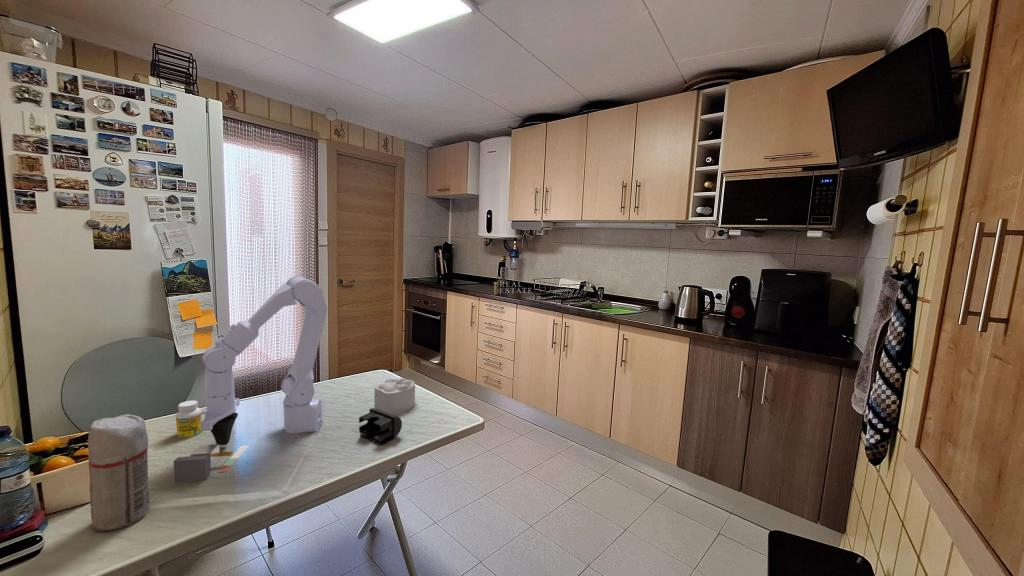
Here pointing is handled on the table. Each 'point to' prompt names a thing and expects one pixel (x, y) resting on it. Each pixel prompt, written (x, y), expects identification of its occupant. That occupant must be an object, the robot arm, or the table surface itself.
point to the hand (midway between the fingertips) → (223, 443)
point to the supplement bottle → (188, 419)
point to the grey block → (210, 453)
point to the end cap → (379, 427)
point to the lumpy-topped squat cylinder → (395, 395)
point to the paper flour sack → (118, 471)
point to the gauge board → (200, 466)
